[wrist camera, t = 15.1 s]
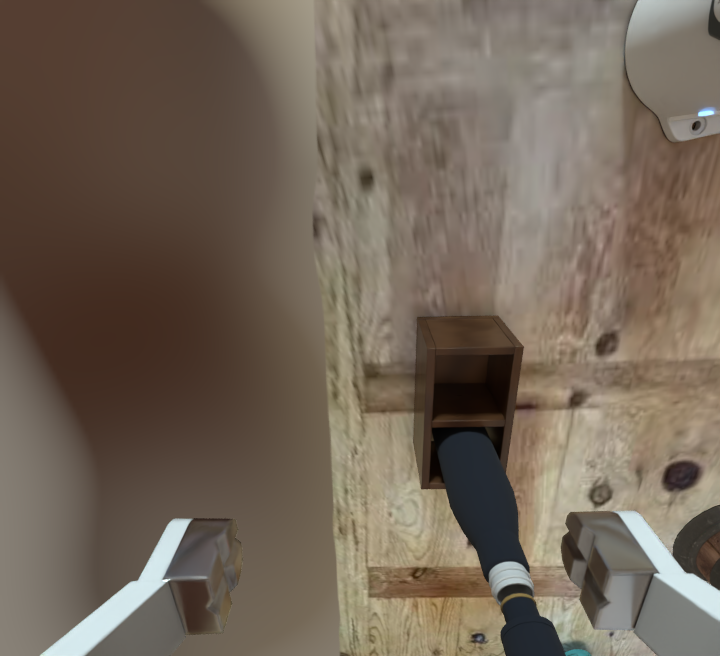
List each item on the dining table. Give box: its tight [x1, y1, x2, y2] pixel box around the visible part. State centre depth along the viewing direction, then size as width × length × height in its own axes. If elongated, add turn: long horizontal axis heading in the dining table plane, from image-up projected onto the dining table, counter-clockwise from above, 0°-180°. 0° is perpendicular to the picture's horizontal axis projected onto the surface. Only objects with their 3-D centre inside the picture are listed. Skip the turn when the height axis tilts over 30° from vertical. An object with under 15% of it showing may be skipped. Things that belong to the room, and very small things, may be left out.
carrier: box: [413, 316, 524, 489], centre depth 50 cm, size 10×19×9 cm, turn 2°
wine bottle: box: [432, 427, 566, 656], centre depth 41 cm, size 6×6×30 cm
